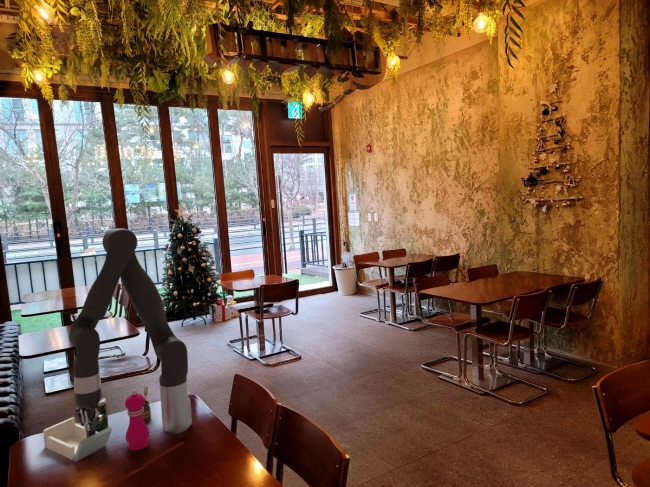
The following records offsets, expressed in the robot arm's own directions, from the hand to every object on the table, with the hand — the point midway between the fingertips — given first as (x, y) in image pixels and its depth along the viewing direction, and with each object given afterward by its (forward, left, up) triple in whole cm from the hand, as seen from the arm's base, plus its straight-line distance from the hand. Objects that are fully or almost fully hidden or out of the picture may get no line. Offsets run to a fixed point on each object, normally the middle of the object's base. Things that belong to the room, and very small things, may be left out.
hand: (91, 439), depth 141 cm
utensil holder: (-24, -7, -6) cm, 25 cm away
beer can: (-11, -13, -6) cm, 17 cm away
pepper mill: (-11, +8, -6) cm, 15 cm away
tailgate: (0, -2, -5) cm, 5 cm away
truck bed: (0, -11, -6) cm, 13 cm away
